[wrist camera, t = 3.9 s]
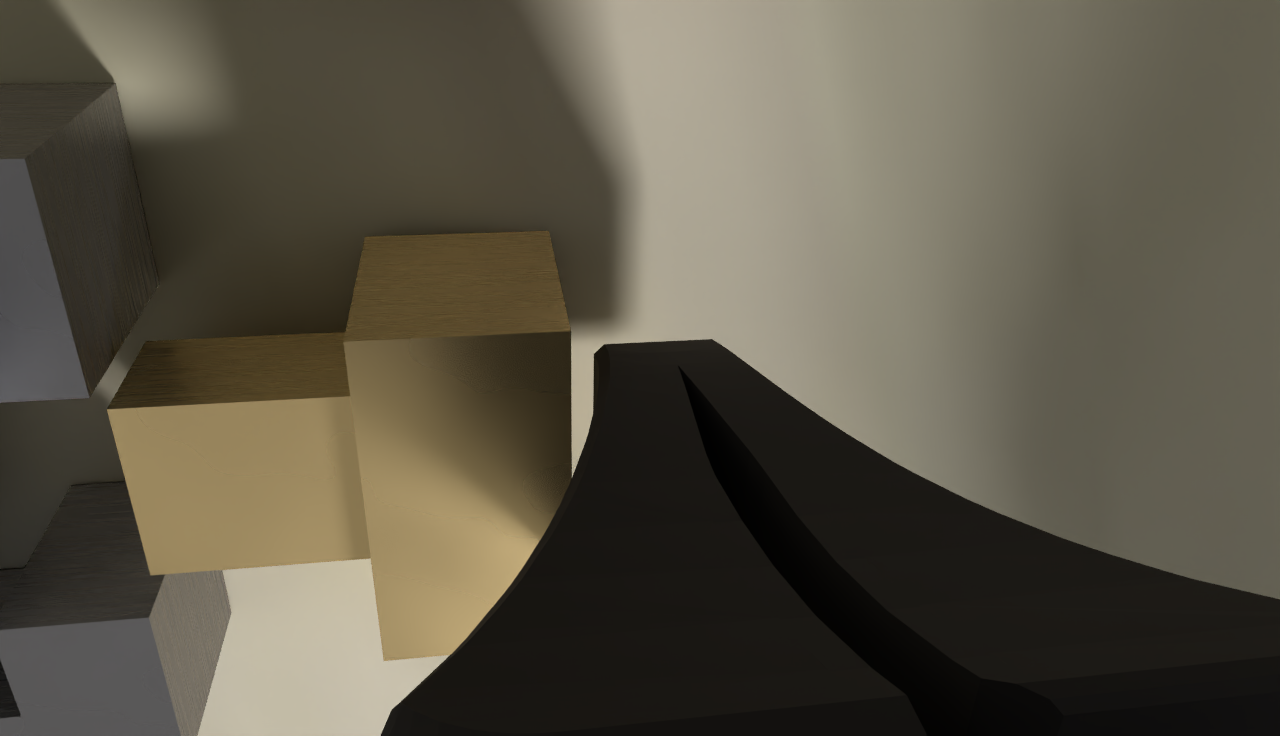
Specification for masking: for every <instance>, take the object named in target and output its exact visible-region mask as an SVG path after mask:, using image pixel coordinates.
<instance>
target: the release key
mask: <svg viewBox="0 0 1280 736" xmlns="http://www.w3.org/2000/svg"><path fill="white" fill-rule="evenodd" d="M107 412H108V416H109V419H110V423H111V427H112V431H113V435H114V439H115V442H116V446H117V450H118V454H119V458H120V461H121V465H122V469H123V473H124V477H125V480H126V484H127V488H128V492H129V496H130V499H131V503H132V507H133V511H134V515H135V518H136V522H137V526H138V530H139V534H140V537H141V541H142V545H143V549H144V553H145V556H146V560H147V564H148V568H149V572H150V575H162V574H175V573H188V572H201V571H214V570H227V569H239V568H252V567H265V566H278V565H291V564H304V563H316V562H329V561H342V560H355V559H368V558H371V564H372V571H373V579H374V587H375V595H376V603H377V611H378V619H379V627H380V635H381V642H382V650H383V658H384V661H388V660H399V659H409V658H420V657H431V656H442V655H451V654H452V653H453V652H454V651H455V650H456V649H457V648H458V647H459V646H460V645H461V643H462V642H463V641H464V640H465V639H466V638H467V637H468V636H469V634H470V633H471V632H472V631H473V630H474V629H475V627H476V626H477V625H478V624H479V623H480V621H481V620H482V619H483V618H484V617H485V615H486V614H487V613H488V612H489V611H490V609H491V608H492V607H493V606H494V605H495V603H496V602H497V601H498V600H499V599H500V597H501V596H502V595H503V594H504V593H505V591H506V590H507V589H508V587H509V586H510V585H511V583H512V582H513V581H514V579H515V578H516V576H517V575H518V574H519V572H520V571H521V569H522V568H523V566H524V565H525V563H526V562H527V560H528V558H529V557H530V555H531V554H532V552H533V551H534V549H535V547H536V546H537V544H538V543H539V541H540V540H541V538H542V536H543V535H544V533H545V531H546V530H547V528H548V526H549V524H550V522H551V520H552V519H553V517H554V515H555V513H556V511H557V509H558V507H559V505H560V503H561V501H562V499H563V497H564V495H565V493H566V491H567V488H568V486H569V484H570V482H571V479H572V452H571V329H570V325H569V320H568V316H567V311H566V307H565V302H564V298H563V293H562V289H561V284H560V279H559V275H558V270H557V266H556V261H555V257H554V252H553V248H552V243H551V239H550V234H549V231H529V232H497V233H465V234H432V235H400V236H368V237H365V239H364V244H363V249H362V254H361V259H360V264H359V268H358V273H357V278H356V283H355V288H354V293H353V297H352V302H351V307H350V312H349V317H348V322H347V327H346V331H345V332H336V333H314V334H292V335H269V336H247V337H225V338H202V339H180V340H158V341H146V342H145V344H144V346H143V347H142V349H141V351H140V352H139V354H138V356H137V358H136V359H135V361H134V363H133V365H132V366H131V368H130V370H129V372H128V373H127V375H126V377H125V379H124V380H123V382H122V384H121V386H120V387H119V389H118V391H117V393H116V394H115V396H114V398H113V400H112V401H111V403H110V405H109V407H108V408H107Z"/></svg>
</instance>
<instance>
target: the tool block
mask: <svg viewBox="0 0 1280 736" xmlns="http://www.w3.org/2000/svg"><path fill="white" fill-rule="evenodd" d="M158 285H159V280H158V275H157V271H156V266H155V261H154V257H153V252H152V248H151V243H150V239H149V234H148V229H147V225H146V220H145V216H144V211H143V207H142V202H141V197H140V193H139V188H138V184H137V179H136V175H135V170H134V165H133V161H132V156H131V152H130V147H129V142H128V138H127V133H126V129H125V124H124V120H123V115H122V110H121V106H120V101H119V97H118V92H117V88H116V83H111V84H0V403H4V402H23V401H42V400H61V399H81V398H90V396H91V395H92V393H93V391H94V390H95V388H96V387H97V385H98V383H99V382H100V380H101V378H102V377H103V375H104V373H105V372H106V370H107V369H108V367H109V365H110V364H111V362H112V360H113V359H114V357H115V356H116V354H117V352H118V351H119V349H120V347H121V346H122V344H123V343H124V341H125V339H126V338H127V336H128V334H129V333H130V331H131V329H132V328H133V326H134V325H135V323H136V321H137V320H138V318H139V316H140V315H141V313H142V312H143V310H144V308H145V307H146V305H147V303H148V302H149V300H150V299H151V297H152V295H153V294H154V292H155V290H156V289H157V287H158ZM230 615H231V609H230V605H229V600H228V596H227V591H226V586H225V582H224V577H223V573H222V570H214V571H201V572H188V573H175V574H162V575H150V572H149V568H148V564H147V560H146V556H145V553H144V549H143V545H142V541H141V537H140V534H139V530H138V526H137V522H136V518H135V515H134V511H133V507H132V503H131V499H130V496H129V492H128V488H127V484H126V482H118V483H103V484H87V485H71V487H70V488H69V490H68V492H67V494H66V496H65V497H64V499H63V501H62V503H61V504H60V506H59V508H58V510H57V512H56V513H55V515H54V517H53V519H52V520H51V522H50V524H49V526H48V528H47V529H46V531H45V533H44V535H43V537H42V538H41V540H40V542H39V544H38V545H37V547H36V549H35V551H34V553H33V554H32V556H31V558H30V560H29V561H28V563H27V565H26V567H25V568H23V569H10V570H0V736H197V735H198V731H199V728H200V724H201V720H202V717H203V713H204V710H205V706H206V702H207V699H208V695H209V691H210V688H211V684H212V681H213V677H214V673H215V670H216V666H217V662H218V659H219V655H220V652H221V648H222V644H223V641H224V637H225V633H226V630H227V626H228V623H229V619H230Z"/></svg>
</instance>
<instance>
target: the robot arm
mask: <svg viewBox="0 0 1280 736" xmlns="http://www.w3.org/2000/svg"><path fill="white" fill-rule="evenodd" d="M381 736H1280V599H1275V598H1271V597H1267V596H1262V595H1258V594H1254V593H1250V592H1245V591H1241V590H1237V589H1232V588H1228V587H1224V586H1220V585H1215V584H1211V583H1207V582H1203V581H1198V580H1194V579H1191V578H1187V577H1183V576H1180V575H1176V574H1173V573H1169V572H1166V571H1163V570H1159V569H1156V568H1153V567H1149V566H1146V565H1143V564H1140V563H1136V562H1133V561H1130V560H1126V559H1123V558H1120V557H1116V556H1113V555H1110V554H1107V553H1104V552H1101V551H1098V550H1095V549H1092V548H1089V547H1086V546H1083V545H1080V544H1077V543H1074V542H1072V541H1069V540H1066V539H1063V538H1060V537H1058V536H1055V535H1052V534H1050V533H1047V532H1045V531H1042V530H1040V529H1037V528H1035V527H1032V526H1030V525H1027V524H1025V523H1022V522H1019V521H1017V520H1014V519H1012V518H1009V517H1007V516H1004V515H1002V514H999V513H997V512H995V511H992V510H990V509H988V508H985V507H983V506H981V505H979V504H976V503H974V502H972V501H970V500H967V499H965V498H963V497H961V496H959V495H957V494H955V493H953V492H951V491H949V490H947V489H945V488H943V487H941V486H939V485H937V484H935V483H933V482H931V481H929V480H927V479H925V478H923V477H921V476H919V475H917V474H915V473H913V472H911V471H909V470H907V469H906V468H904V467H902V466H900V465H898V464H896V463H895V462H893V461H891V460H889V459H887V458H886V457H884V456H882V455H881V454H879V453H878V452H876V451H874V450H873V449H871V448H869V447H868V446H866V445H864V444H863V443H861V442H859V441H858V440H856V439H854V438H853V437H851V436H850V435H848V434H846V433H845V432H843V431H842V430H840V429H839V428H837V427H836V426H834V425H832V424H831V423H829V422H828V421H826V420H825V419H823V418H822V417H820V416H819V415H818V414H816V413H815V412H813V411H812V410H810V409H809V408H807V407H806V406H804V405H803V404H802V403H800V402H799V401H797V400H796V399H795V398H793V397H792V396H790V395H789V394H788V393H786V392H785V391H783V390H782V389H781V388H779V387H778V386H777V385H775V384H774V383H772V382H771V381H770V380H768V379H767V378H766V377H764V376H763V375H762V374H760V373H759V372H758V371H756V370H755V369H754V368H752V367H751V366H750V365H748V364H747V363H746V362H744V361H743V360H741V359H740V358H739V357H737V356H736V355H735V354H733V353H732V352H730V351H729V350H728V349H726V348H725V347H723V346H722V345H720V344H719V343H717V342H715V341H714V340H712V339H708V340H687V341H666V342H644V343H623V344H604V345H603V346H602V347H601V348H600V349H599V350H598V351H597V352H596V353H595V354H594V402H593V417H592V421H591V425H590V429H589V433H588V436H587V439H586V442H585V445H584V448H583V450H582V453H581V456H580V458H579V461H578V464H577V466H576V469H575V472H574V474H573V477H572V479H571V482H570V484H569V486H568V488H567V491H566V493H565V495H564V497H563V499H562V501H561V503H560V505H559V507H558V509H557V511H556V513H555V515H554V517H553V519H552V520H551V522H550V524H549V526H548V528H547V530H546V531H545V533H544V535H543V536H542V538H541V540H540V541H539V543H538V544H537V546H536V547H535V549H534V551H533V552H532V554H531V555H530V557H529V558H528V560H527V562H526V563H525V565H524V566H523V568H522V569H521V571H520V572H519V574H518V575H517V576H516V578H515V579H514V581H513V582H512V583H511V585H510V586H509V587H508V589H507V590H506V591H505V593H504V594H503V595H502V596H501V597H500V599H499V600H498V601H497V602H496V603H495V605H494V606H493V607H492V608H491V609H490V611H489V612H488V613H487V614H486V615H485V617H484V618H483V619H482V620H481V621H480V623H479V624H478V625H477V626H476V627H475V629H474V630H473V631H472V632H471V633H470V634H469V636H468V637H467V638H466V639H465V640H464V641H463V642H462V643H461V645H460V646H459V647H458V648H457V649H456V650H455V651H454V652H453V653H452V654H451V655H450V656H449V657H448V658H447V659H446V660H445V661H444V662H443V663H441V664H440V665H439V666H438V667H437V668H436V669H435V670H434V671H433V672H432V673H431V674H430V675H429V676H428V677H427V678H426V679H424V680H423V681H422V682H421V683H420V684H419V685H418V686H417V687H416V688H415V689H414V690H413V691H412V692H411V693H410V694H409V695H408V696H406V697H405V698H404V699H403V700H402V701H401V702H400V703H399V704H398V705H397V706H395V707H394V708H393V709H392V711H391V713H390V715H389V717H388V720H387V722H386V724H385V727H384V729H383V731H382V734H381Z"/></svg>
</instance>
